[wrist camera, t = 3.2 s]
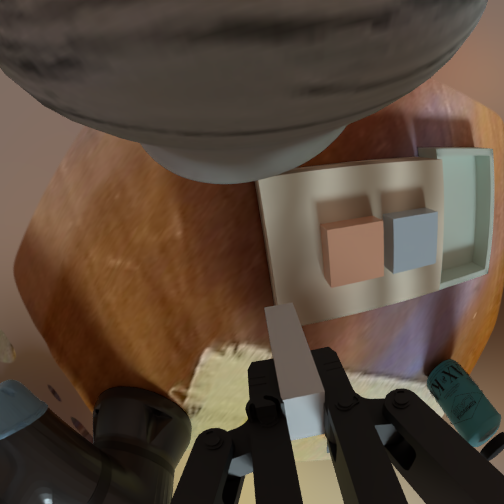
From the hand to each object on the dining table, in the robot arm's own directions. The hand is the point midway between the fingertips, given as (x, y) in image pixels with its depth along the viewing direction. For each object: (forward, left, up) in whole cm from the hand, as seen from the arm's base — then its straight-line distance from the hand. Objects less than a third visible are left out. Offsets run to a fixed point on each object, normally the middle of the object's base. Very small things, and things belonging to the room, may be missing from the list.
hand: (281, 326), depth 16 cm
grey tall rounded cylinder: (0, +13, -15) cm, 20 cm away
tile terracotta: (+8, 0, -10) cm, 13 cm away
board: (+10, 0, -15) cm, 18 cm away
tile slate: (+14, 0, -10) cm, 17 cm away
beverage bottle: (+26, -26, -15) cm, 40 cm away
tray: (+24, 0, -15) cm, 28 cm away
